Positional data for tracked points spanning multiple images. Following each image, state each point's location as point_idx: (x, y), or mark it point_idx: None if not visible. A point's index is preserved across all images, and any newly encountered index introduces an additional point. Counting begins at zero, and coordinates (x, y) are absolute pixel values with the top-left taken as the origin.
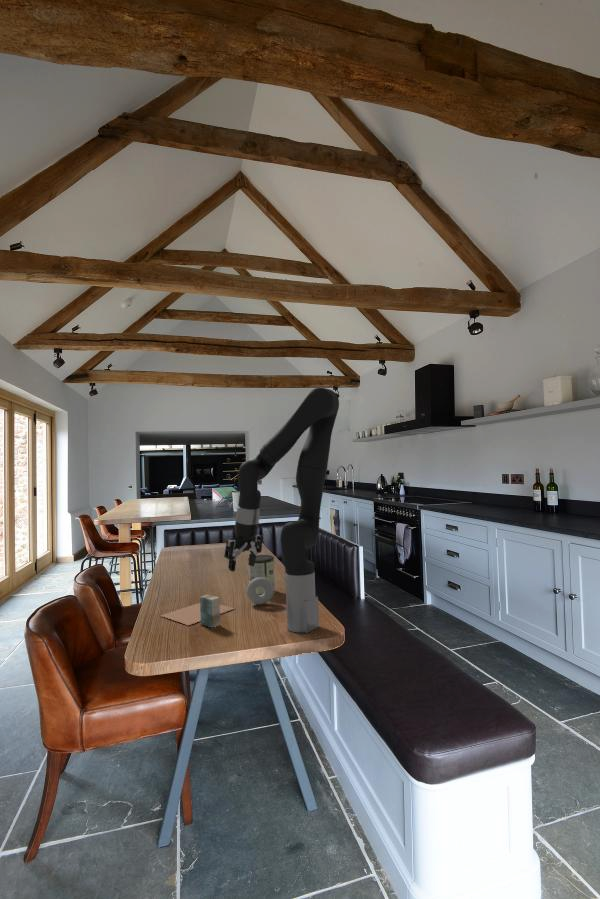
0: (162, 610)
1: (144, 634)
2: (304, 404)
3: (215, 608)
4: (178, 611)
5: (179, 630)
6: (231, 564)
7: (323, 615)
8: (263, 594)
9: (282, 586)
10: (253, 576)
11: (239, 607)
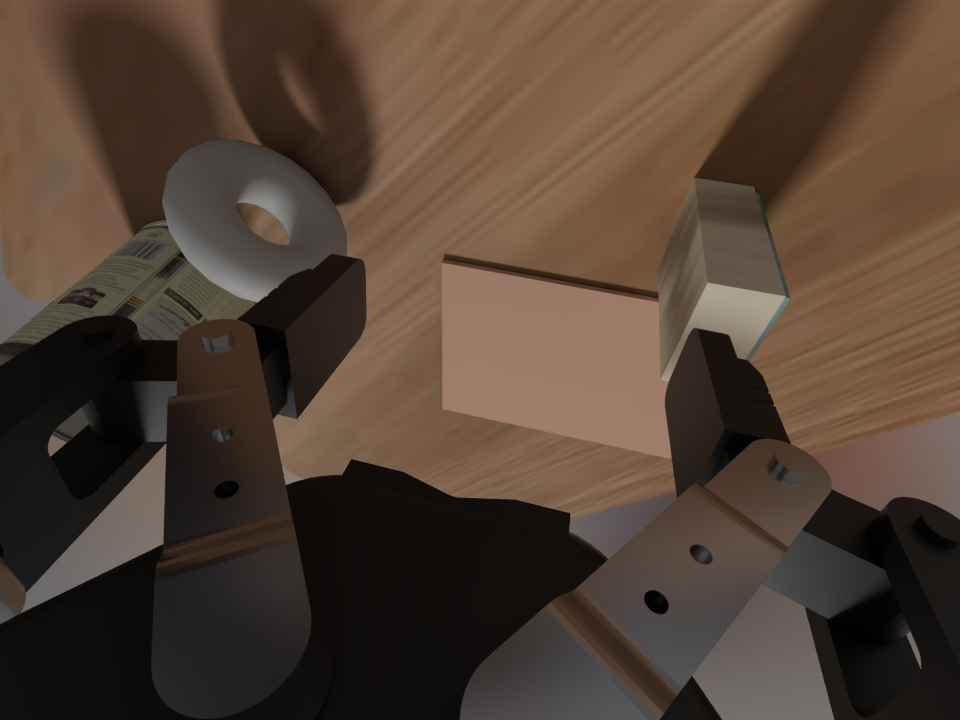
0: (604, 474)
1: (899, 413)
2: None
3: (743, 247)
4: (600, 431)
5: (821, 321)
6: (776, 421)
7: None
8: (261, 193)
9: (73, 243)
10: None
11: (409, 254)
